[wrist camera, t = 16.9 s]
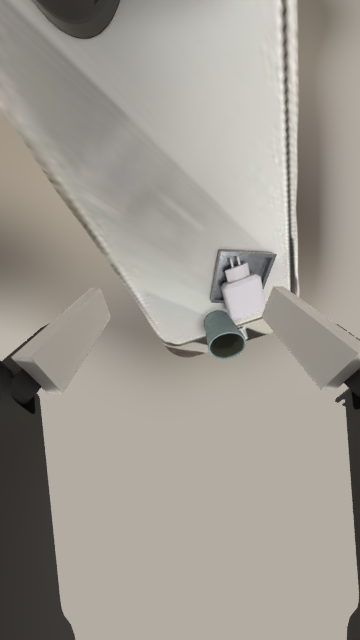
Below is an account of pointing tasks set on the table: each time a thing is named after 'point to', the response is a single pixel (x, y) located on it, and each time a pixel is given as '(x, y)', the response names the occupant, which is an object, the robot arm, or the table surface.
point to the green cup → (223, 336)
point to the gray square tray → (256, 263)
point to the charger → (242, 291)
